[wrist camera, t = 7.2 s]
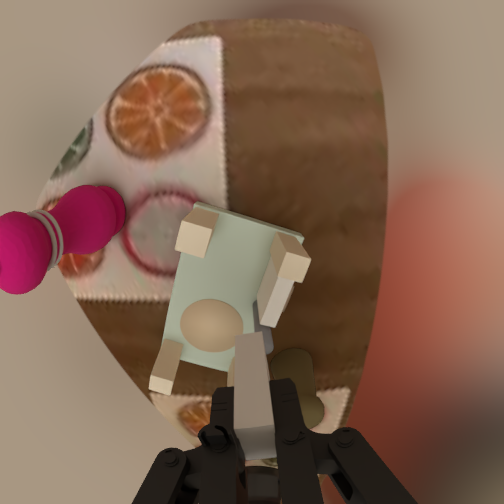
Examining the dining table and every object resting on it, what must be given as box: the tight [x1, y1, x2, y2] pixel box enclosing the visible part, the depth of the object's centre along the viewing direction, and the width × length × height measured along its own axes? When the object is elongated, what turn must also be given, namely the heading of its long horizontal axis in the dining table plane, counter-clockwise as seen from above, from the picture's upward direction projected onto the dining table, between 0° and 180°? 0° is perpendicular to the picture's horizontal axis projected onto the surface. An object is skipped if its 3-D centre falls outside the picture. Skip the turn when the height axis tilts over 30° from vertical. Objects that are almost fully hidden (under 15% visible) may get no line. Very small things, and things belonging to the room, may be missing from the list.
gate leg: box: [257, 231, 311, 328], centre depth 27 cm, size 8×2×7 cm, turn 162°
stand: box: [149, 201, 304, 395], centre depth 29 cm, size 20×12×10 cm, turn 162°
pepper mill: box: [0, 185, 125, 294], centre depth 20 cm, size 7×7×20 cm
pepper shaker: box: [270, 348, 324, 429], centre depth 32 cm, size 6×6×11 cm
